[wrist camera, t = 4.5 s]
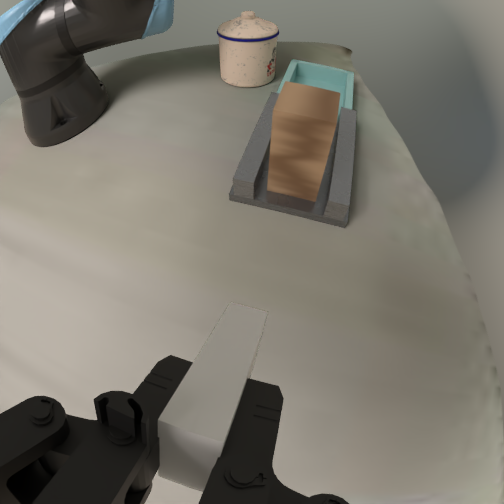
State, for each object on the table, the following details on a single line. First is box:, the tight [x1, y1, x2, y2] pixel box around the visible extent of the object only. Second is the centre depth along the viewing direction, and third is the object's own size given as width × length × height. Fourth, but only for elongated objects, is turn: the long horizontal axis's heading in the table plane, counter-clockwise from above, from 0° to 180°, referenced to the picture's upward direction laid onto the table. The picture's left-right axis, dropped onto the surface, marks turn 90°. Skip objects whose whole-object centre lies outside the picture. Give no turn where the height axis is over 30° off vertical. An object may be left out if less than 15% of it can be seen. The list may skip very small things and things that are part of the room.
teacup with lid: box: [217, 11, 279, 87], centre depth 40 cm, size 12×9×12 cm
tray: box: [277, 59, 354, 122], centre depth 40 cm, size 10×12×3 cm
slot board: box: [229, 92, 357, 228], centre depth 33 cm, size 12×16×4 cm
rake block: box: [267, 81, 340, 202], centre depth 27 cm, size 5×5×10 cm
